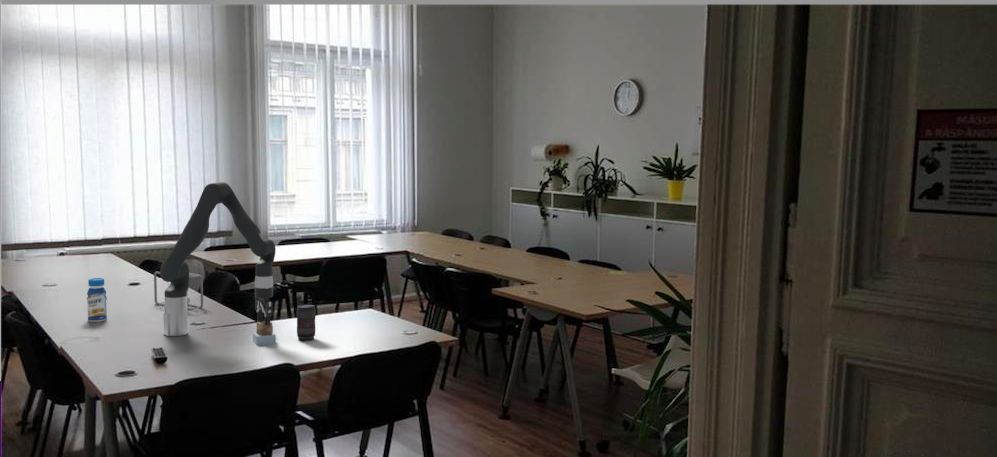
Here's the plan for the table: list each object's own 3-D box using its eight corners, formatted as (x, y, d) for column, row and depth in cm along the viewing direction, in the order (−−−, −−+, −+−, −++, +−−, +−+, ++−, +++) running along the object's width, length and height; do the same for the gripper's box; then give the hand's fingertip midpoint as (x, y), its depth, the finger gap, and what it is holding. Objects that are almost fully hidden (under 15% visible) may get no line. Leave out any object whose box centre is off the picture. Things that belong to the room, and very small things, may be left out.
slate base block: (256, 345, 337) (256, 336, 337) (253, 341, 344) (252, 332, 344) (275, 344, 341) (275, 335, 340) (271, 340, 348) (271, 331, 347)
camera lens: (319, 338, 351) (318, 304, 350) (309, 342, 344) (309, 308, 342) (302, 336, 354) (302, 303, 352) (293, 340, 346) (293, 306, 344)
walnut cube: (260, 335, 338) (260, 324, 338) (256, 333, 342) (256, 322, 342) (272, 334, 341) (272, 322, 341) (267, 332, 345) (267, 320, 345)
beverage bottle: (111, 318, 382) (109, 277, 381) (100, 322, 374) (99, 280, 372) (94, 318, 383) (93, 277, 381) (83, 321, 375) (82, 280, 373)
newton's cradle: (154, 304, 421) (153, 271, 420) (172, 301, 430) (172, 268, 428) (185, 311, 403) (184, 277, 401) (203, 308, 411) (203, 275, 410)
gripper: (249, 284, 343) (249, 320, 345) (261, 289, 332) (261, 327, 334) (266, 282, 348) (266, 319, 349) (278, 287, 337) (278, 325, 338)
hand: (263, 323), depth 342 cm, fingers open, 8 cm apart
